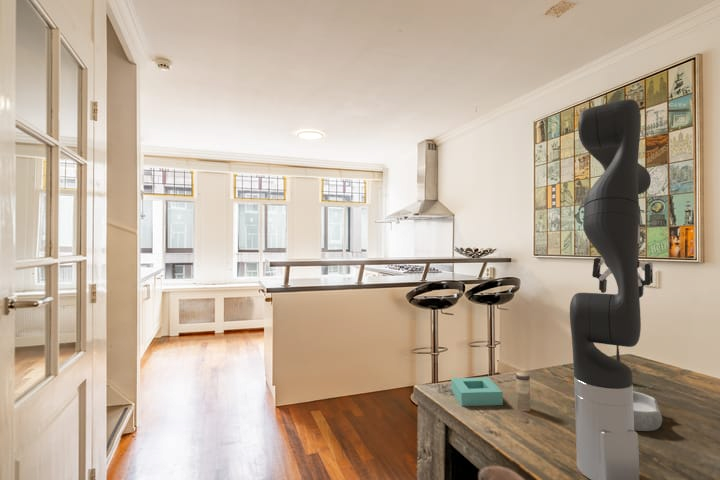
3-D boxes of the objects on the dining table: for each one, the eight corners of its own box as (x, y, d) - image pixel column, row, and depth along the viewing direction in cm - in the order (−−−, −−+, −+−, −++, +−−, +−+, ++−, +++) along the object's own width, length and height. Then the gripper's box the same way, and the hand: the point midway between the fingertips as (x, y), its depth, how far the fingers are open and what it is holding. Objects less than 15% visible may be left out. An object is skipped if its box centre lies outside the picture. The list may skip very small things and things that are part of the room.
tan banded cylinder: (533, 411, 97) (531, 375, 97) (520, 411, 97) (519, 376, 97) (527, 405, 100) (526, 371, 100) (514, 406, 100) (513, 371, 100)
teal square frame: (502, 404, 101) (502, 391, 101) (461, 406, 101) (461, 392, 101) (488, 389, 112) (488, 377, 112) (451, 390, 112) (451, 378, 112)
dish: (648, 410, 96) (648, 390, 96) (678, 437, 83) (677, 414, 83) (584, 405, 100) (584, 386, 100) (603, 430, 87) (602, 408, 87)
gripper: (590, 240, 111) (588, 293, 113) (650, 244, 100) (646, 303, 102) (599, 236, 115) (597, 287, 118) (657, 240, 104) (654, 296, 107)
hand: (620, 295), depth 110 cm, fingers open, 8 cm apart
